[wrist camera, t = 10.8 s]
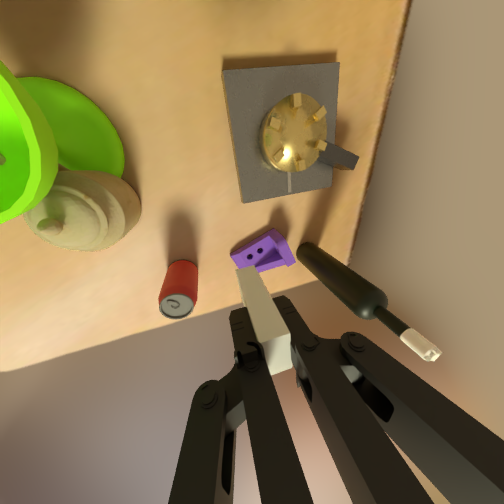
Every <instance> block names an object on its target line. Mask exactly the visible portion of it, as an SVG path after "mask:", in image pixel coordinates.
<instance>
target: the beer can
mask: <svg viewBox="0 0 504 504" xmlns="http://www.w3.org/2000/svg"><path fill="white" fill-rule="evenodd" d="M197 291H198V269H197V267H196V266H195V265H194V264H193V263H191V262H190V261H186V260H179V261H176V262H174V263H172V264H171V265H170V266H169V268H168V270H167V273H166V276H165V279H164V282H163V285H162V288H161V291H160V295H159V298H158V299H159V309H160V312H161V313H162V315H164V316H165V317H167V318H170V319H182V318H185V317H187V316H188V315H190V314H191V312H192V311H193V308H194V306H195V304H196V301H197Z"/></svg>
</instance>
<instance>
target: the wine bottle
mask: <svg viewBox="0 0 504 504" xmlns="http://www.w3.org/2000/svg"><path fill="white" fill-rule="evenodd" d="M296 256H297V259H298V260H299V261H300V262H301V263H302V264H303V265H304V266H305V267H306V268H307V269H308V270H310V271H311V272H312V273H313V274H314V275H315V276H316V277H317V278H318V279H319V280H320V281H321V282H322V283H323V284H324V285H325V286H326V287H327V288H328V289H329V290H330V291H331V292H333V293H334V295H336V296H337V297H338V298H339V299H340V300H341V301H342V302H343V303H344V304H345V305H346V306H347V307H348V308H349V309H350V310H351V311H352V312H353V313H354V314H355V315H357V316H358V317H359V318H362V319H366V320H371V319H375V318H378V319H379V320H380V321H381V322H382V323H383V324H385V325H386V326H387V327H388V328H389V329H390V330H392V331H393V332H394V333H395V334H396V335H397V336H398V337H400V339H401V340H402V341H403V342H404V343H405V344H407V345H408V346H409V347H410V348H411V349H412V350H413V351H415V352H416V353H417V354H418V355H419V356H420V357H422V358H423V359H424V360H426V361H430V360H431V361H435V359H437V358H438V357H439V355H440V354H442V352H441V351H440V350H439V349H438V347H436V346H435V345H434V344H432V343H431V342H430V341H428V340H427V339H426V338H425V337H423V336H422V335H421V334H419V333H418V332H416V331H415V330H414V329H413V328H410V327H409V326H408V325H406V324H405V323H404V322H403V321H401V320H400V319H399V318H397V317H396V316H395V315H393V314H392V313H391V312H390V311H388V310H387V309H386V308H387V305H388V299H387V296H386V294H385V293H384V292H383V291H382V290H380V289H379V288H377V287H376V286H375V285H373V284H372V283H370V282H369V281H367V280H366V279H364V278H363V277H361V276H360V275H358V274H357V273H356V272H354V271H353V270H351V269H350V268H348V267H347V266H345V265H344V264H343V263H341V262H340V261H338V260H337V259H335V258H334V257H332V256H331V255H329V254H328V253H327V252H325V251H324V250H322V249H321V248H319V247H318V246H316V245H315V244H313V243H311V242H306V243H304V244H302V245H301V246H300V247H299V248H298V250H297V253H296Z"/></svg>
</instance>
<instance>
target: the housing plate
mask: <svg viewBox="0 0 504 504" xmlns="http://www.w3.org/2000/svg"><path fill="white" fill-rule="evenodd" d="M339 67H340V62H334V63H320V64H305V65H291V66H277V67H262V68H248V69H234V70H223V71H222V76H221V77H222V83H223V89H224V96H225V102H226V108H227V114H228V120H229V127H230V133H231V139H232V145H233V151H234V158H235V164H236V170H237V176H238V183H239V189H240V195H241V201H242V203H249V202H254V201H259V200H264V199H269V198H275V197H280V196H285V195H290V194H295V193H300V192H306V191H311V190H316V189H321V188H326V187H331V186H332V176H333V166H331V165H328V164H326V163H324V162H321V161H319V160H316V161H315V162H314V163H313V164H312V165H311V166H310V167H308V168H307V169H306V170H303V171H299V172H283V171H278V170H276V169H274V168H273V167H271V166H270V165H269V164H268V163H267V162H266V160H265V159H264V157H263V155H262V152H261V149H260V143H259V134H260V128H261V125H262V122H263V120H264V117H265V116H266V114H267V113H268V112H269V110H270V109H271V108H272V107H274V106H275V105H276V104H277V103H278V102H279V101H281V100H282V99H283V98H285V97H287V96H289V95H291V94H295V93H300V92H301V93H302V94H306V95H309V96H311V97H312V98H314V99H315V100H316V101H317V102H318V103H319V105H320V106H323V105H324V107H325V109H326V111H327V113H326V114H325V118H326V123H327V135H326V141H328V142H330V143H332V144H334V145H335V129H336V113H337V98H338V82H339Z"/></svg>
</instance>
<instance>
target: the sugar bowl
mask: <svg viewBox="0 0 504 504" xmlns="http://www.w3.org/2000/svg"><path fill="white" fill-rule="evenodd" d="M5 162H6V158H5V157H4V156H3V155H2V154H1V153H0V165H3V164H4V163H5ZM23 215H24V219H25V221H26V223H27V225H28V226H29V227H30V229H31V230H32V231H33V232H34V233H35V234H36V235H37V236H39V237H40V238H41V239H43V240H44V241H46V242H47V243H49V244H51V245H54V246H56V247H59V248H62V249H68V250H74V251H85V252H93V251H100V250H104V249H107V248H109V247H111V246H112V245H114V244H115V243H117V242H118V241H119V240H120V239H122V238H123V237H124V236H125V235H126V234H127V233H128V232H129V231H130V230H131V229H132V228H133V227H134V226H135V225H136V224H137V222H138V221H139V218H140V216H141V204H140V201H139V198H138V196H137V194H136V193H135V191H134V190H133V189H132V188H131V186H130V185H129V184H128V183H126V182H125V181H124V180H122V179H121V178H119V177H117V176H115V175H113V174H110V173H107V172H103V171H96V170H70V169H68V168H66V167H64V166H63V165H61V164H59V163H58V172H57V175H56V177H55V180H54V183H53V185H52V187H51V189H50V191H49V192H48V194H47V195H46V196H45V197H44V198H43V199H42V200H41V201H40V202H39V203H38V204H37V205H36V206H35V208H33V209H31V210H29V211H27V212H25V213H23Z"/></svg>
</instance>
